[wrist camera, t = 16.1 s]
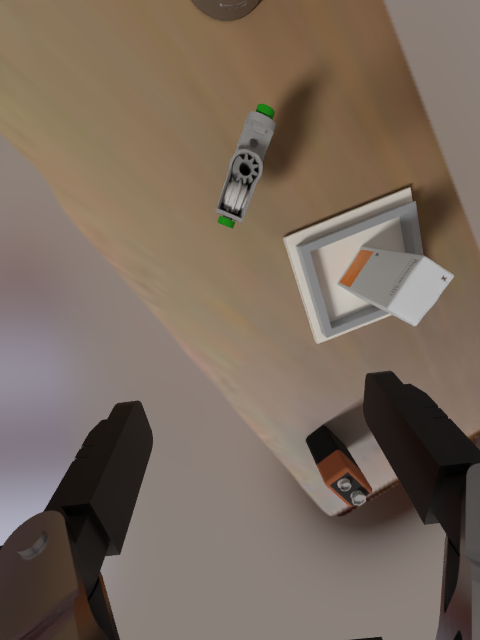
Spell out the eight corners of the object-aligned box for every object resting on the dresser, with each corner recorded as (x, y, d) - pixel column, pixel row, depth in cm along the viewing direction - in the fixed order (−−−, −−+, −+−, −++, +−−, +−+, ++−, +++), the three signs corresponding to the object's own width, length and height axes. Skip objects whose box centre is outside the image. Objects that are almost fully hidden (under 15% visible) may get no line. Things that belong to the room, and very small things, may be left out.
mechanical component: (263, 145, 33) (284, 112, 24) (232, 230, 36) (240, 231, 26) (239, 133, 33) (252, 96, 23) (210, 221, 35) (210, 219, 26)
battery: (326, 460, 50) (353, 514, 40) (303, 438, 48) (326, 491, 38) (345, 445, 49) (378, 497, 40) (323, 423, 47) (352, 472, 38)
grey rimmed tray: (282, 237, 37) (288, 238, 34) (405, 188, 36) (421, 185, 34) (315, 341, 42) (322, 349, 39) (422, 299, 42) (437, 304, 39)
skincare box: (360, 244, 37) (426, 252, 26) (384, 260, 38) (458, 275, 27) (334, 284, 38) (386, 309, 27) (358, 299, 40) (417, 328, 28)
